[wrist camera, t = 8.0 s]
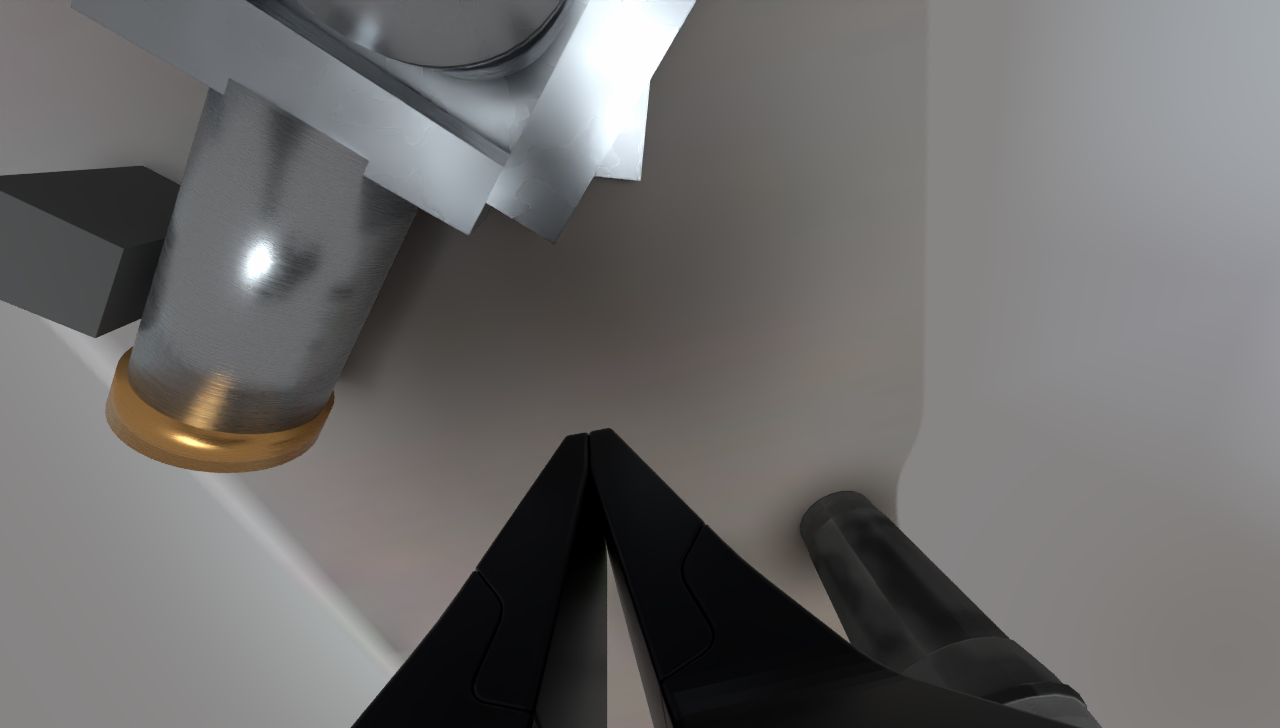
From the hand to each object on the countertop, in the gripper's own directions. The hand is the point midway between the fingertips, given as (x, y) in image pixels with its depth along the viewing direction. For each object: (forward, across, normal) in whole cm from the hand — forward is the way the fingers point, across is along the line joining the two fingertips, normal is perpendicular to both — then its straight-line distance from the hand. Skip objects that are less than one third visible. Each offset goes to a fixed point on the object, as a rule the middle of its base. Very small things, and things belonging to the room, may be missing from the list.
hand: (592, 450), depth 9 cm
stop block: (+12, +14, -4) cm, 18 cm away
